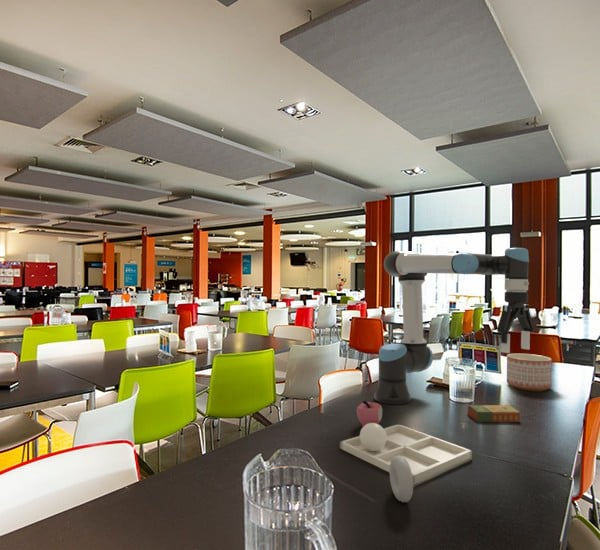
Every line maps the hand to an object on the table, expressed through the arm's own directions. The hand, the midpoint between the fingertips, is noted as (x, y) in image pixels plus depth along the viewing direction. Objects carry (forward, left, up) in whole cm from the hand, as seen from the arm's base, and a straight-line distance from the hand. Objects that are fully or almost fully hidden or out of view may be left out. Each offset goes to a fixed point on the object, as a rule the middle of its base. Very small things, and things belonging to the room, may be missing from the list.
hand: (515, 350), depth 149 cm
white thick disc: (+9, -73, -27) cm, 78 cm away
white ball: (-14, -58, -26) cm, 65 cm away
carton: (-9, +2, -28) cm, 29 cm away
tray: (-7, -52, -27) cm, 59 cm away
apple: (-28, -45, -27) cm, 60 cm away
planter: (-23, +61, -27) cm, 71 cm away
